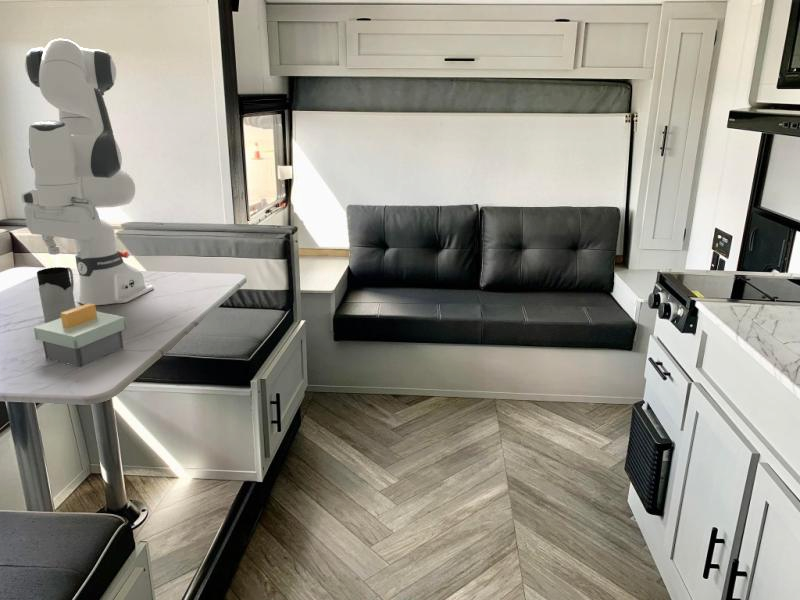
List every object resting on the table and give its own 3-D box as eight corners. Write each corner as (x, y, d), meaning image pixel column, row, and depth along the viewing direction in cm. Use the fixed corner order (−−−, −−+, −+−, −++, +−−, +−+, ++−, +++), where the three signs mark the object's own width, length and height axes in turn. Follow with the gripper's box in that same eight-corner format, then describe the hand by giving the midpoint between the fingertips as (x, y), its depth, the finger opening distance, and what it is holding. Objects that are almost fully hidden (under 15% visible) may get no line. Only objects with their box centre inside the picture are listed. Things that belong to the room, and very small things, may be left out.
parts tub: (90, 340, 160) (85, 314, 158) (123, 347, 156) (119, 321, 154) (45, 358, 149) (40, 330, 147) (80, 366, 145) (75, 338, 143)
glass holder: (37, 329, 167) (27, 275, 162) (62, 311, 181) (53, 261, 176) (70, 329, 168) (61, 275, 163) (93, 311, 181) (85, 261, 176)
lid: (87, 320, 160) (83, 296, 158) (126, 328, 155) (122, 303, 153) (36, 339, 147) (31, 313, 145) (76, 349, 142) (71, 322, 140)
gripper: (104, 197, 139) (113, 257, 143) (40, 191, 147) (50, 249, 151) (81, 200, 134) (90, 263, 138) (15, 195, 142) (26, 254, 146)
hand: (68, 255), depth 145 cm, fingers open, 8 cm apart
